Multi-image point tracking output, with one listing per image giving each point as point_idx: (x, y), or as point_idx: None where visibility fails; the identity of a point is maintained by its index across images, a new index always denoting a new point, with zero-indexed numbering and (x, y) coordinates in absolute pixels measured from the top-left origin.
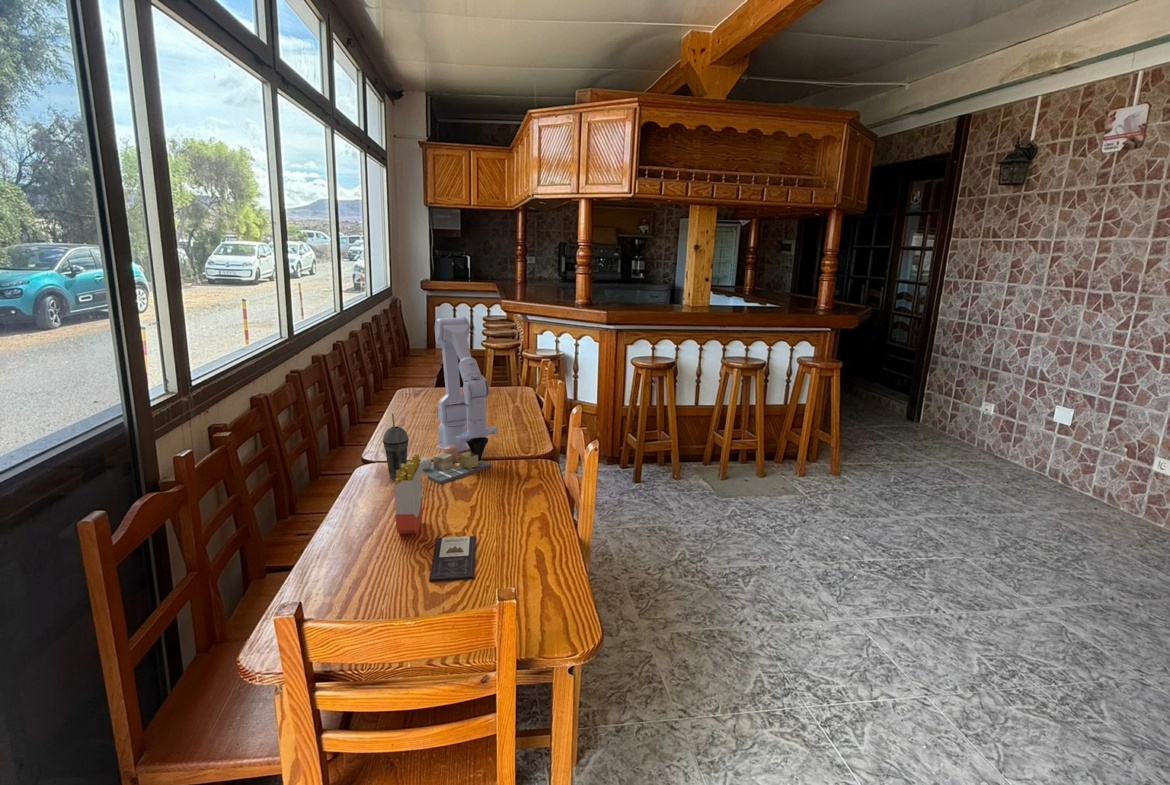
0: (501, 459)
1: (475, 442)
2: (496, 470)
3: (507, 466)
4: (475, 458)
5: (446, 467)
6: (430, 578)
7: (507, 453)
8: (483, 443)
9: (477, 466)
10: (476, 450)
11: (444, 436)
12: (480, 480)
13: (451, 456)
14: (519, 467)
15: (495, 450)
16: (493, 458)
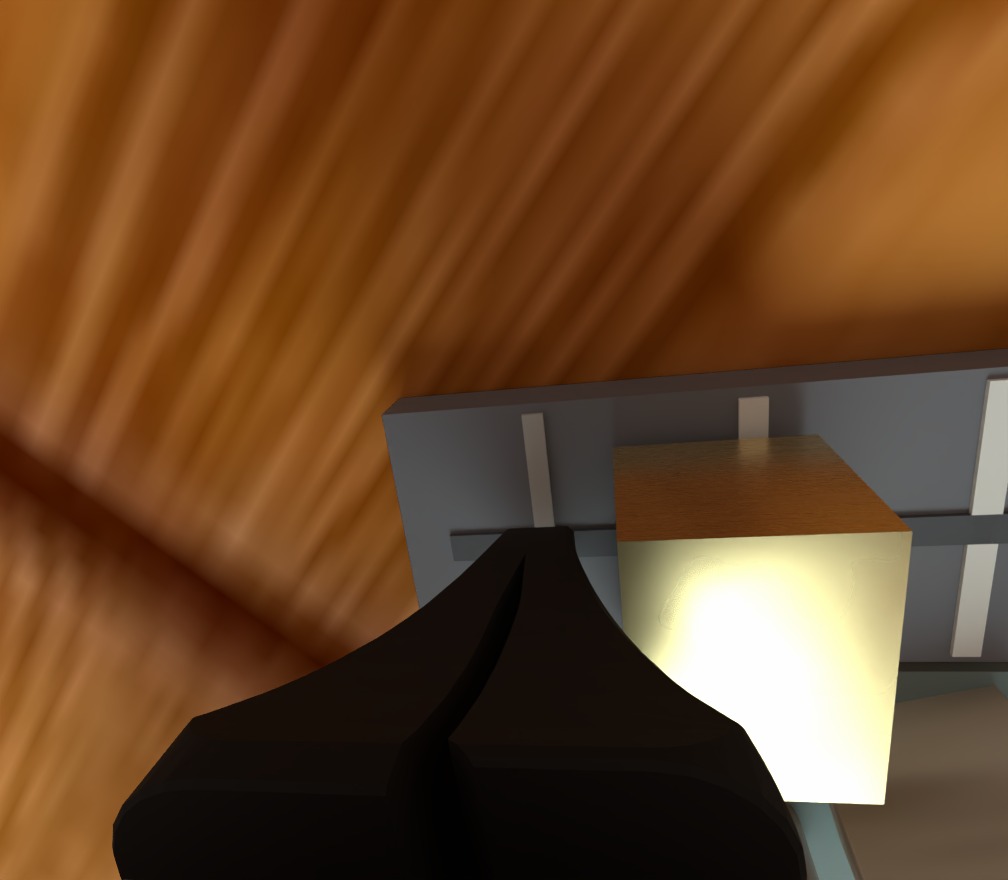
0: (159, 546)
1: (742, 855)
2: (390, 266)
3: (189, 297)
4: (688, 505)
5: (957, 723)
6: None
7: (32, 641)
8: (389, 708)
9: (602, 470)
10: (626, 643)
11: None
12: (850, 35)
13: (884, 867)
14: (54, 145)
15: (116, 776)
16: (228, 628)
